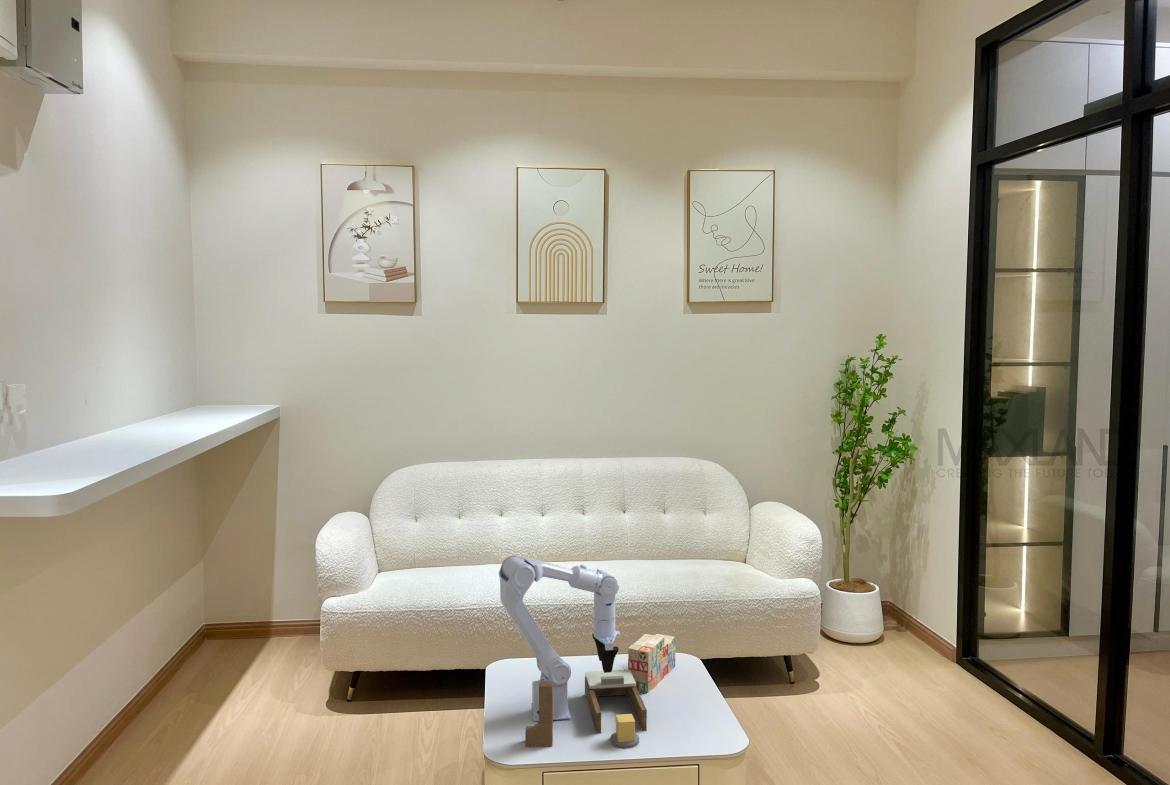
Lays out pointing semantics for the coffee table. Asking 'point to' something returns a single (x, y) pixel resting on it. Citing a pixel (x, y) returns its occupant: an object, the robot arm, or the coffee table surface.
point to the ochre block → (625, 728)
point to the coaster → (624, 744)
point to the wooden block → (542, 718)
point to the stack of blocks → (651, 660)
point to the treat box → (630, 691)
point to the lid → (610, 679)
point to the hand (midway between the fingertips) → (605, 666)
